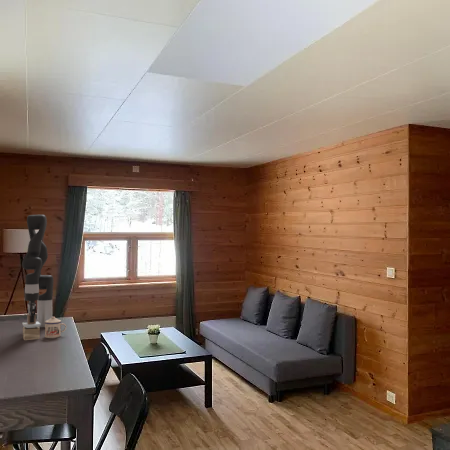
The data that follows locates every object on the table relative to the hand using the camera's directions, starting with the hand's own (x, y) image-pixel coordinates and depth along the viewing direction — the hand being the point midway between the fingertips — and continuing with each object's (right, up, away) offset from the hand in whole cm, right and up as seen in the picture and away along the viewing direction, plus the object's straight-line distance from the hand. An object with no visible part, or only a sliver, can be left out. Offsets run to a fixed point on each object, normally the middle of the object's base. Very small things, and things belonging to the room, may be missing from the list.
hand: (31, 321), depth 270 cm
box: (0, -10, 0) cm, 10 cm away
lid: (0, -2, 0) cm, 2 cm away
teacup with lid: (+12, -10, +5) cm, 16 cm away
